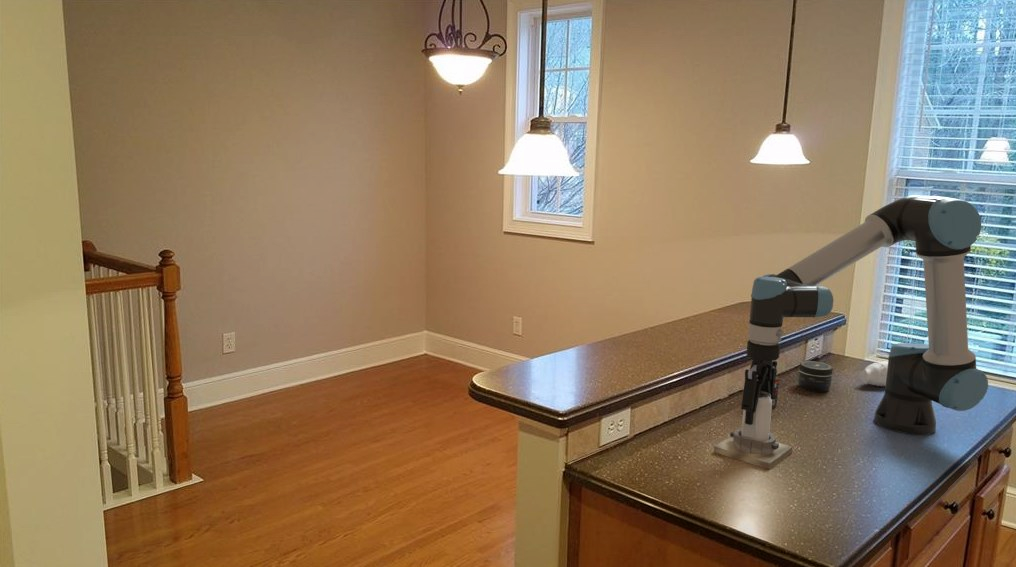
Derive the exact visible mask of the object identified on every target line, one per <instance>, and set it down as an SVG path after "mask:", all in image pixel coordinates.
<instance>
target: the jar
mask: <svg viewBox="0 0 1016 567" xmlns="http://www.w3.org/2000/svg"><path fill="white" fill-rule="evenodd" d="M833 371H834V370H833V366H832V365H830V364H827V363H825V362H820V361H814V360H806V361H805V360H804V361H801V362H799V365H798V375H797V384H798V386H799V388H800V389H802V390H805V391H808V392H813V393H826V392H828V391H829V390H830V388H831V386H832V378H833Z"/></svg>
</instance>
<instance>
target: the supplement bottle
mask: <svg viewBox="0 0 1016 567" xmlns="http://www.w3.org/2000/svg"><path fill="white" fill-rule="evenodd" d="M777 370H778V368H776V374H775V390H774V399H771V400H773V401H774V403H773V404H772V409H773V408H776V407H777V406H778V398H779V397H778V396H779V388H780V377H779V376H778V375H777V373H778V371H777ZM758 381H759V380H758Z"/></svg>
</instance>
